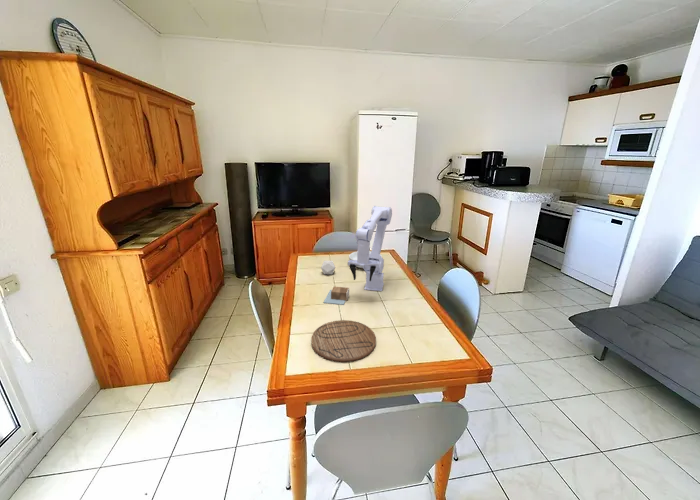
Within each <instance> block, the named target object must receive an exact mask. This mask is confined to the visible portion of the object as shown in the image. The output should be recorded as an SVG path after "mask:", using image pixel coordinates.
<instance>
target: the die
mask: <svg viewBox="0 0 700 500" xmlns="http://www.w3.org/2000/svg"><path fill="white" fill-rule="evenodd" d="M320 268H321V270H322V273H323V275H326V276H327V275H331V276H332V275H334V272H335V269H336V266H335V263H334V261H333V260H323V262H322V265H321V267H320Z"/></svg>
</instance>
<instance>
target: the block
mask: <svg viewBox="0 0 700 500" xmlns="http://www.w3.org/2000/svg"><path fill="white" fill-rule="evenodd" d="M331 290H332V291H331V299H336V300H346V301H348V299H349V297H350V287H346V286H345V287H344V286H333V287H332V289H331Z"/></svg>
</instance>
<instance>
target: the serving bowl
mask: <svg viewBox="0 0 700 500" xmlns="http://www.w3.org/2000/svg"><path fill="white" fill-rule="evenodd" d="M371 251H372V250H370V252H369V254H370V253H371ZM380 256H381V257H382V258H383V255H382V254H381V253H380ZM348 259H349V260H357V251H353V252H351V253H350V254H349V255H348ZM349 260H348V261H349ZM376 261H377V260H376ZM356 268H361V269H363V266H357V265H356Z"/></svg>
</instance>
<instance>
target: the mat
mask: <svg viewBox="0 0 700 500" xmlns="http://www.w3.org/2000/svg"><path fill="white" fill-rule="evenodd" d="M331 291H332V289H329V291H328V292H327V295H326V297H325V298H324V301H323V304H329V305H341V306H344V305H345V303H346V301H347V300H336V299H331Z"/></svg>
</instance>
